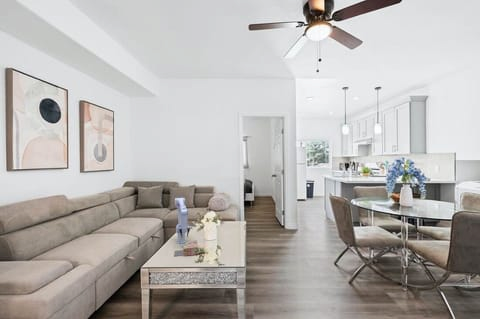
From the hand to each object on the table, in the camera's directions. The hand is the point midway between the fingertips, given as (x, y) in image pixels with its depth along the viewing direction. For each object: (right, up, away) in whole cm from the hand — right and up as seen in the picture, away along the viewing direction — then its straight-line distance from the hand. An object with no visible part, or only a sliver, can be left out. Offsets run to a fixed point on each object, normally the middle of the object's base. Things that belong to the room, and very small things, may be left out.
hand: (184, 237), depth 243 cm
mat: (+9, -9, -15) cm, 19 cm away
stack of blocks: (+14, -5, -12) cm, 19 cm away
